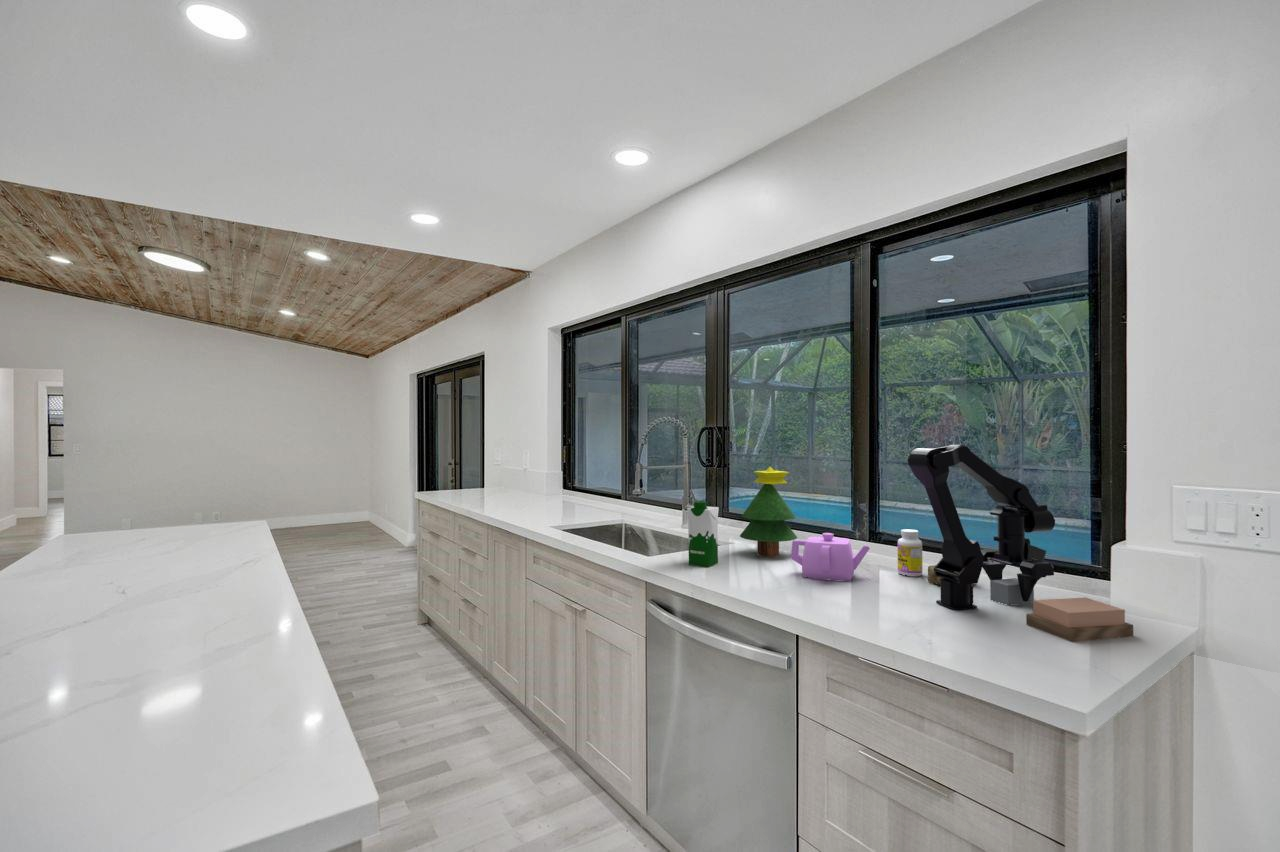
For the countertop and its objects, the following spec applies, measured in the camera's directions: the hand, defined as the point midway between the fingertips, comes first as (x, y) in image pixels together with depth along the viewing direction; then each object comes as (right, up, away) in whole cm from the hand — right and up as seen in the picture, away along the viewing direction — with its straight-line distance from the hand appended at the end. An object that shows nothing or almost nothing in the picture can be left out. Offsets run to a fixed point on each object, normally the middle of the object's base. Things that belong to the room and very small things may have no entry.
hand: (1011, 596), depth 147 cm
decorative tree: (-48, -2, +57) cm, 74 cm away
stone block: (-6, -2, +18) cm, 19 cm away
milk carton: (-71, -2, +43) cm, 83 cm away
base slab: (+1, -2, -21) cm, 21 cm away
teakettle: (-36, -2, +28) cm, 45 cm away
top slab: (+1, +1, -21) cm, 21 cm away
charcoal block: (0, -1, 0) cm, 1 cm away
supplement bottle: (-13, -2, +28) cm, 31 cm away
